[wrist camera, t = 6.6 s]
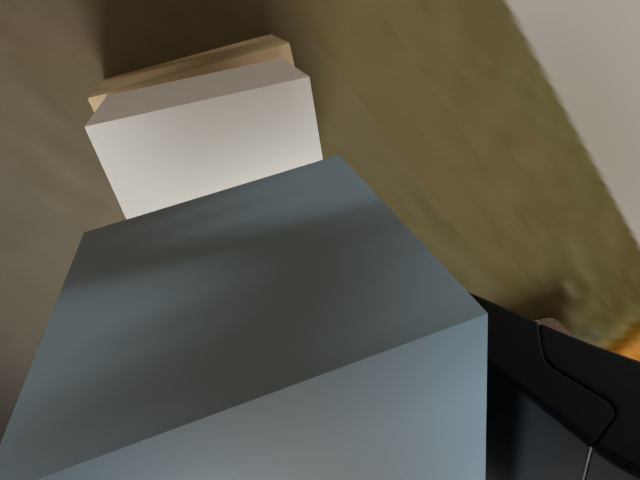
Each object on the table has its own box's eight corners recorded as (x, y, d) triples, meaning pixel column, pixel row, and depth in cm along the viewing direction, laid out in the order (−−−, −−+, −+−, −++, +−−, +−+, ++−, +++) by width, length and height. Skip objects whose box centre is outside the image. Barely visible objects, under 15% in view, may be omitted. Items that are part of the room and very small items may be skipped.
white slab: (168, 245, 18) (165, 304, 14) (106, 95, 14) (84, 126, 11) (309, 206, 18) (338, 254, 15) (281, 57, 15) (309, 76, 12)
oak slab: (172, 222, 21) (170, 265, 18) (105, 77, 18) (87, 98, 14) (306, 180, 22) (328, 213, 19) (269, 33, 18) (289, 43, 15)
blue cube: (184, 400, 11) (186, 664, 6) (84, 232, 8) (-24, 501, 4) (372, 332, 11) (484, 533, 7) (339, 154, 9) (488, 312, 4)
